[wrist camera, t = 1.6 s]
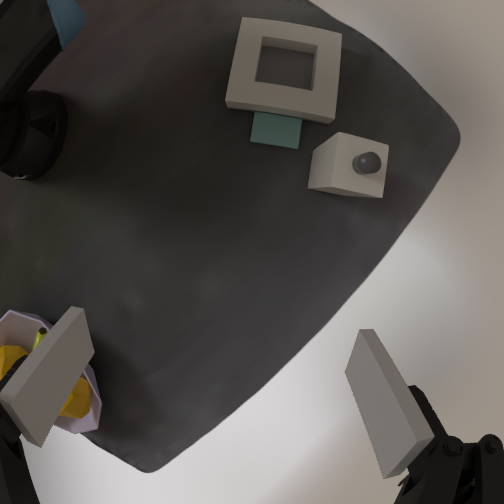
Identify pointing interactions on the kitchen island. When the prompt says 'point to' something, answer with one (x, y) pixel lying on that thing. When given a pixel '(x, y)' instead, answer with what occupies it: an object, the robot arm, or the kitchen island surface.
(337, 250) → the kitchen island surface
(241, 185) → the kitchen island surface
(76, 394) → the fruit bowl
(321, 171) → the plug
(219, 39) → the kitchen island surface
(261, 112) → the socket
